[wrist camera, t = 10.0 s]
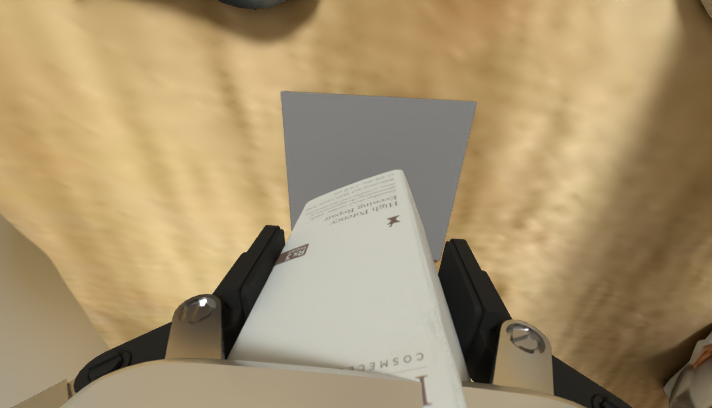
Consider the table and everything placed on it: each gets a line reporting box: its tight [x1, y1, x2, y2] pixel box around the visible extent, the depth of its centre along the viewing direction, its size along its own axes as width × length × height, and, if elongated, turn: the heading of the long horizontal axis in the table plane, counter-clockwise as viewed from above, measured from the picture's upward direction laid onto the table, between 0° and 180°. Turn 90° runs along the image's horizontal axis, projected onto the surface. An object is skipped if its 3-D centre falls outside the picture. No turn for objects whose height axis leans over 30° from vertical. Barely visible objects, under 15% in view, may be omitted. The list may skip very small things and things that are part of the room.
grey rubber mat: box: [281, 91, 477, 261], centre depth 19 cm, size 12×12×1 cm
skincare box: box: [227, 170, 471, 408], centre depth 11 cm, size 6×4×12 cm
